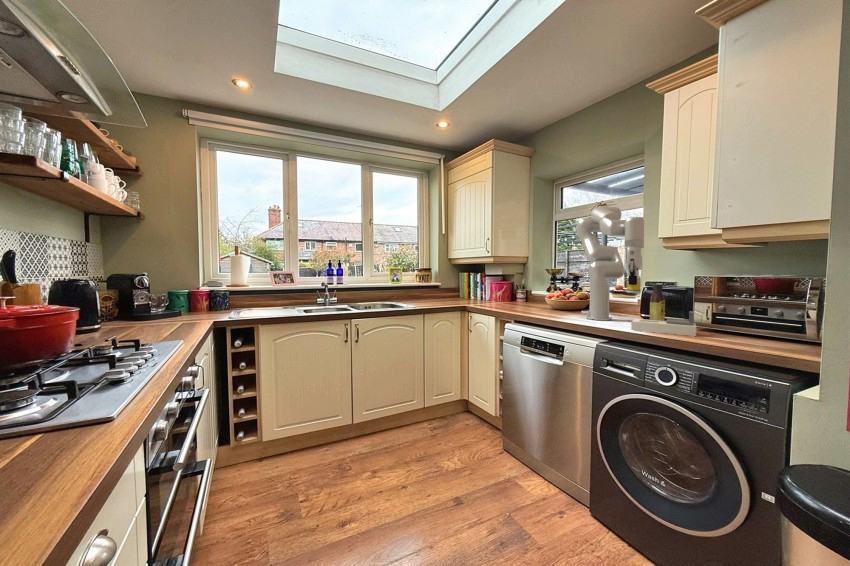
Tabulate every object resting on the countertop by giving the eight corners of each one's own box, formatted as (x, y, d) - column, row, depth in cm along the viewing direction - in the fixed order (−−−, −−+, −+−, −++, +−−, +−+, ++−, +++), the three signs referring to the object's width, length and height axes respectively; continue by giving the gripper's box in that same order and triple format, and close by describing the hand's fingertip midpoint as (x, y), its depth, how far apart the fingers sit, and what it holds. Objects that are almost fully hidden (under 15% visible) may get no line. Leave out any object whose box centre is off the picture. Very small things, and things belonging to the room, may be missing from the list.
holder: (631, 330, 148) (631, 321, 148) (634, 327, 158) (635, 318, 157) (695, 336, 135) (696, 326, 134) (695, 332, 144) (695, 323, 144)
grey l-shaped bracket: (665, 322, 142) (666, 311, 142) (667, 320, 148) (667, 309, 148) (693, 324, 137) (693, 313, 136) (693, 322, 143) (693, 311, 143)
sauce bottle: (664, 324, 167) (665, 284, 166) (648, 323, 171) (649, 283, 170) (664, 323, 172) (665, 284, 172) (649, 322, 176) (650, 283, 175)
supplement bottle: (623, 292, 156) (624, 271, 156) (632, 292, 158) (632, 271, 158) (635, 292, 151) (635, 270, 151) (643, 292, 153) (643, 271, 153)
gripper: (641, 242, 146) (640, 284, 146) (646, 246, 159) (645, 284, 159) (621, 243, 150) (620, 284, 150) (627, 246, 164) (627, 284, 164)
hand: (633, 284), depth 155 cm, fingers closed on supplement bottle, 5 cm apart
